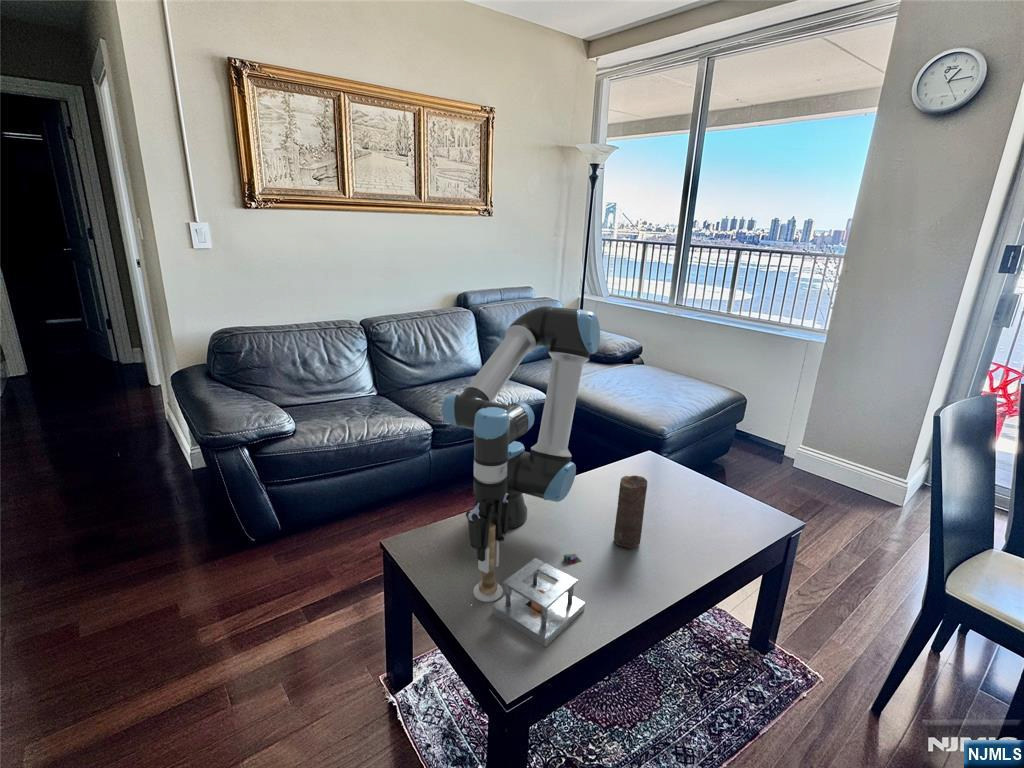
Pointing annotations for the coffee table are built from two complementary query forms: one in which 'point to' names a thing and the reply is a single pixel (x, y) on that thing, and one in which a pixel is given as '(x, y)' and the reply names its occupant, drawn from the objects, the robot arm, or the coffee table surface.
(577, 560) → the multicolour small angular block
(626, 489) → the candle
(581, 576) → the coffee table surface
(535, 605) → the breaker button
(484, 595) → the coaster
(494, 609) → the grey square frame
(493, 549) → the turned wooden spindle
